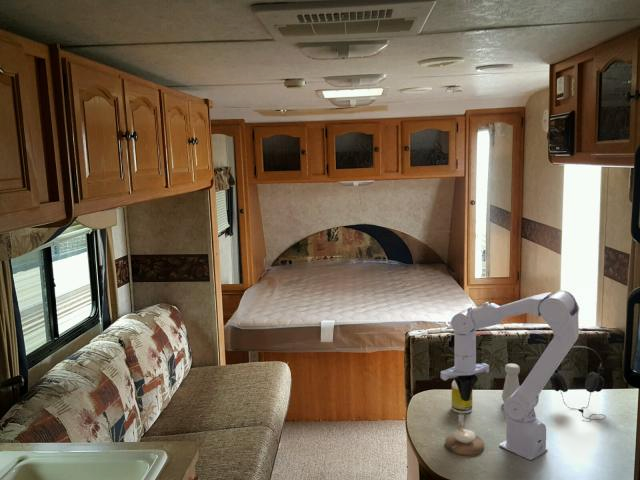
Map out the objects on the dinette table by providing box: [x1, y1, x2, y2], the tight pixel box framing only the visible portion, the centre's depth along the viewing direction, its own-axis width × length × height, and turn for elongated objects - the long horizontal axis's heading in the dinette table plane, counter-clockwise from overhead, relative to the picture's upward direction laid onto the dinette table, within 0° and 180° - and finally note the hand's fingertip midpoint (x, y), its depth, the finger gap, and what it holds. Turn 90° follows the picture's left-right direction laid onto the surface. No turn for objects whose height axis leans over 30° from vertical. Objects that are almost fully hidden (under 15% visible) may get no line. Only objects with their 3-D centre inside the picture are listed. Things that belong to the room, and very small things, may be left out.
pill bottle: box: [451, 379, 473, 415], centre depth 166 cm, size 6×6×11 cm
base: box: [445, 432, 485, 457], centre depth 146 cm, size 10×10×2 cm
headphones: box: [549, 345, 606, 422], centre depth 161 cm, size 15×11×20 cm
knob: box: [453, 413, 477, 443], centre depth 147 cm, size 8×6×4 cm
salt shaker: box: [501, 362, 521, 403], centre depth 168 cm, size 6×6×13 cm
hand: (465, 399), depth 153 cm, fingers closed
